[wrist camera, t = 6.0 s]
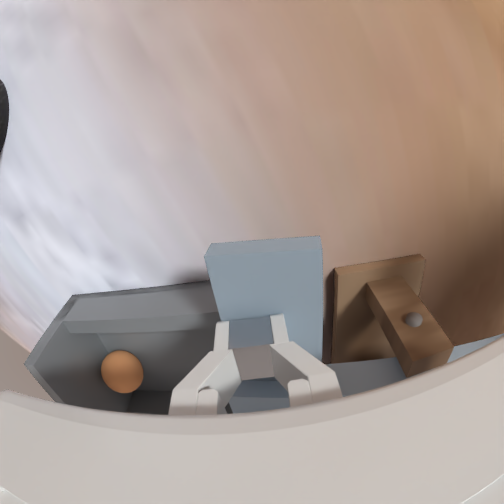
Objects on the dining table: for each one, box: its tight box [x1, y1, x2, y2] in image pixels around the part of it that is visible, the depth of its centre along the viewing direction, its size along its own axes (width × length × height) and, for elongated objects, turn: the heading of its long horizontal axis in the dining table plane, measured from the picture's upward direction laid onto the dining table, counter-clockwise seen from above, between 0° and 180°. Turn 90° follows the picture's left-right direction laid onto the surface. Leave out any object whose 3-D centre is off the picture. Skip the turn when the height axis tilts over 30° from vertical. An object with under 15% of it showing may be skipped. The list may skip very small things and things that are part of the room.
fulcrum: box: [331, 254, 454, 378], centre depth 15 cm, size 6×10×7 cm, turn 8°
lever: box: [204, 236, 504, 414], centre depth 10 cm, size 20×12×3 cm, turn 98°
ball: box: [101, 350, 143, 393], centre depth 17 cm, size 3×3×3 cm
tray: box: [24, 281, 233, 415], centre depth 16 cm, size 12×11×7 cm
